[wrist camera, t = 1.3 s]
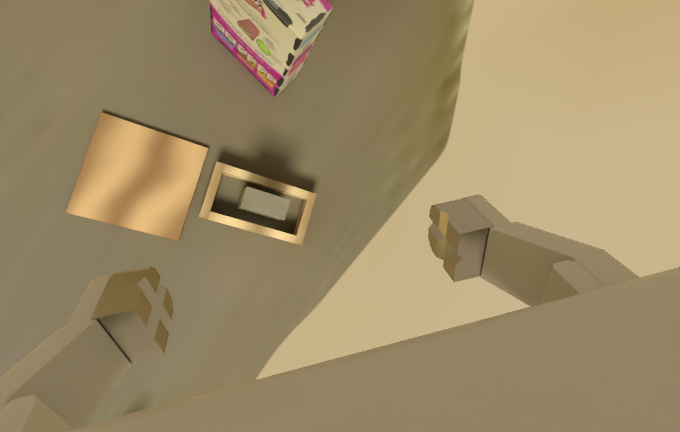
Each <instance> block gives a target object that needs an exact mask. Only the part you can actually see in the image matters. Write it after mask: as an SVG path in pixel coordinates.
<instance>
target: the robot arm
mask: <svg viewBox="0 0 680 432" xmlns="http://www.w3.org/2000/svg"><path fill="white" fill-rule="evenodd" d="M429 216H430V218H431V220H432V221H433V223H432V225H431V226H430V227H429V242H430V246H431V248H432V251H433V252H434V254H435V255H436V257H438V258H440V259H442V260H444V264H443V267H444V269H445V270H446V271H447V273H448V274H449V276H450V277H451V279H452V280H453V281H454V282H456V281H460V280H464V279H469V278H474V277H478V276H481V278H483V279H484V280H486V281H488V282H489V283H491V284H493V285H495V286H496V287H498V288H500V289H502V290H503V291H505V292H507V293H509V294H510V295H512V296H514V297H515V298H517V299H519V300H521V301H522V302H524V303H526V304H527V305H529V306H531V307H528V308H525V309H521V310H517V311H513V312H509V313H506V314H502V315H498V316H494V317H491V318H487V319H483V320H479V321H476V322H472V323H468V324H464V325H461V326H457V327H453V328H449V329H446V330H442V331H438V332H434V333H431V334H427V335H423V336H419V337H415V338H412V339H408V340H404V341H400V342H397V343H393V344H390V345H386V346H382V347H378V348H374V349H370V350H367V351H363V352H359V353H355V354H352V355H348V356H344V357H340V358H337V359H333V360H329V361H326V362H322V363H318V364H314V365H310V366H307V367H303V368H299V369H295V370H292V371H288V372H284V373H281V374H277V375H273V376H269V377H265V378H262V379H258V380H254V381H250V382H247V383H243V384H239V385H235V386H232V387H228V388H224V389H220V390H217V391H213V392H209V393H205V394H202V395H198V396H194V397H190V398H187V399H183V400H179V401H175V402H172V403H168V404H164V405H160V406H157V407H153V408H149V409H145V410H142V411H138V412H134V413H130V414H127V415H123V416H119V417H115V418H112V419H108V420H104V421H100V422H97V423H93V424H89V425H86V424H87V423H88V422H89V421H90V419H91V418H92V417H93V415H94V414H95V413H96V411H97V410H98V409H99V407H100V406H101V405H102V403H103V402H104V401H105V399H106V398H107V397H108V395H109V394H110V393H111V391H112V390H113V389H114V388H115V386H116V385H117V384H118V382H119V381H120V380H121V378H122V377H123V376H124V374H125V373H126V372H127V370H128V369H129V368H130V366H131V363H134V362H137V361H141V360H145V359H148V358H152V357H156V356H159V355H163V354H165V349H166V344H167V340H168V335H169V333H168V331H167V330H166V328H165V327H166V326H167V325H168V324H169V322H170V321H171V320H172V315H173V303H172V299H171V296H170V293H169V291H168V289H167V288H166V287H164V286H162V285H160V284H159V280H160V275H159V274H158V272H157V270H156V269H155V268H153V267H147V268H142V269H137V270H132V271H126V272H121V273H116V274H113V275H107V276H102V277H98V278H94V279H92V280H91V281H90V282H89V283H88V285H87V287H86V289H85V291H84V293H83V295H82V297H81V299H80V301H79V303H78V305H77V307H76V309H75V311H74V313H73V315H72V317H71V319H70V321H69V323H68V325H67V326H64V327H60V328H59V329H58V330H57V331H55V332H54V333H53V334H52V335H51V336H49V337H48V338H47V339H46V340H45V341H43V342H42V343H41V344H40V345H38V346H37V347H36V348H35V349H34V350H32V351H31V352H30V353H29V354H28V355H26V356H25V357H24V358H23V359H22V360H20V361H19V362H18V363H17V364H15V365H14V366H13V367H12V368H11V369H9V370H8V371H7V372H6V373H5V374H3V375H2V376H1V377H0V432H680V267H678V268H674V269H671V270H667V271H664V272H659V273H656V274H652V275H648V276H644V277H641V278H640V277H638V276H637V275H636V274H634V273H633V272H632V271H630V270H629V269H628V268H627V267H625V266H624V265H623V264H621V263H620V262H619V261H617V260H616V259H615V258H614V257H612V256H611V255H610V254H608V253H607V252H605V251H604V250H602V249H599V248H596V247H593V246H590V245H587V244H584V243H580V242H577V241H574V240H571V239H567V238H565V237H561V236H558V235H555V234H552V233H549V232H546V231H543V230H540V229H537V228H534V227H531V226H527V225H524V224H521V223H518V222H513V223H511V222H510V221H509V220H508V219H507V218H506V217H504V216H503V215H502V214H501V213H500V212H499V211H498V210H497V209H496V208H495V207H493V206H492V205H491V204H490V203H489V202H488V201H487V200H486V199H485V198H484V197H483V196H481V195H474V196H470V197H466V198H463V199H459V200H455V201H450V202H446V203H442V204H437V205H432V206H431V209H430V215H429Z"/></svg>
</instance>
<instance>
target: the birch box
mask: <svg viewBox="0 0 680 432" xmlns="http://www.w3.org/2000/svg"><path fill="white" fill-rule="evenodd" d="M222 174H224V175H227V176H230V177H233V178H236V179H240V180H243V181H246V182H249V183H252V184H255V185H258V186H262V187H265V188H268V189H271V190H274V191H277V192H280V193H284V194H287V195H290V196H293V197H296V198H299V199H302V200H303V202H302V205H301V209H300V212H299V216H298V219H297V222H296V226H295V229H294V233H293V235H292V234H289V233H285V232H282V231H278V230H275V229H271V228H267V227H264V226H260V225H257V224H253V223H250V222H246V221H243V220H239V219H236V218H232V217H229V216H225V215H222V214H218V213H214V212H211V209H212V205H213V202H214V199H215V196H216V193H217V190H218V187H219V183H220V180H221V177H222ZM315 198H316V194H315V193H312V192H309V191H306V190H303V189H300V188H297V187H294V186H290V185H287V184H284V183H281V182H278V181H275V180H272V179H269V178H266V177H263V176H260V175H257V174H254V173H251V172H248V171H245V170H242V169H239V168H236V167H233V166H229V165H226V164H223V163H220V162H216V165H215V168H214V171H213V174H212V177H211V181H210V184H209V187H208V190H207V193H206V196H205V199H204V202H203V206H202V209H201V212H200V215H199V217H201V218H205V219H208V220H212V221H216V222H219V223H223V224H227V225H230V226H234V227H237V228H241V229H245V230H248V231H252V232H256V233H259V234H263V235H266V236H270V237H274V238H277V239H281V240H285V241H288V242H292V243H295V244H299V245H302V242H303V239H304V236H305V232H306V229H307V225H308V222H309V218H310V215H311V211H312V208H313V205H314V201H315Z"/></svg>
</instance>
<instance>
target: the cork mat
mask: <svg viewBox="0 0 680 432" xmlns="http://www.w3.org/2000/svg"><path fill="white" fill-rule="evenodd" d="M207 152H208V148H206V147H203V146H200V145H197V144H194V143H191V142H188V141H185V140H182V139H179V138H176V137H173V136H170V135H167V134H165V133H162V132H159V131H156V130H153V129H150V128H147V127H144V126H141V125H138V124H135V123H132V122H129V121H126V120H123V119H120V118H117V117H114V116H111V115H108V114H105V113H102V112H101V114H100V117H99V120H98V123H97V126H96V128H95V131H94V134H93V137H92V140H91V143H90V145H89V148H88V151H87V154H86V157H85V159H84V162H83V165H82V168H81V171H80V174H79V176H78V179H77V182H76V185H75V188H74V191H73V193H72V196H71V199H70V202H69V205H68V207H67V210H66V213H70V214H74V215H78V216H82V217H86V218H90V219H94V220H98V221H102V222H106V223H110V224H114V225H118V226H122V227H126V228H130V229H134V230H138V231H142V232H146V233H150V234H154V235H158V236H162V237H166V238H170V239H174V240H178V241H179V239H180V235H181V232H182V229H183V226H184V223H185V220H186V217H187V214H188V211H189V208H190V205H191V201H192V198H193V195H194V192H195V189H196V186H197V183H198V180H199V177H200V174H201V170H202V167H203V164H204V161H205V158H206V155H207Z"/></svg>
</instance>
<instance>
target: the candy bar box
mask: <svg viewBox="0 0 680 432" xmlns="http://www.w3.org/2000/svg"><path fill="white" fill-rule="evenodd" d="M332 9H333V6H332V5H331V4H330V3H329V2H328V1H327V0H210V12H211V33H212V34H213V35H214V36H215V37H216V38H217V39H218V40H219V41H220V42H221V43H222V44H223V45H224V46H225V47H226V48H227V49H228V50H229V51H230V52H231V53H232V54H233V55H234V56H235V57H236V58H237V59H238V60H239V61H240V62H241V63H242V64H243V65H244V66H245V67H246V68H247V69H248V70H249V71H250V72H251V73H252V74H253V75H254V76H255V77H256V78H257V79H258V80H259V81H260V82H261V83H262V84H263V85H264V86H265V87H266V88H267V90H268V91H269V92H270V93H271V94H272V95H273V96H274V97H276V96H277V95H278V94H279V93H280V92H281V91H282V90H283V89H284V88H285V87H286V86H287V85H288V84H289V83H290V82H291V81H292V80H293V79H294V78H295V77H296V76H297V75H298V74H299V72H300V70H301V68H302V66H303V64H304V63H305V61H306V59H307V57H308V55H309V53H310V51H311V49H312V47H313V45H314V43H315V41H316V40H317V38H318V36H319V34H320V32H321V30H322V28H323V26H324V24H325V23H326V21H327V19H328V17H329V15H330V13H331V11H332Z"/></svg>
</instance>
